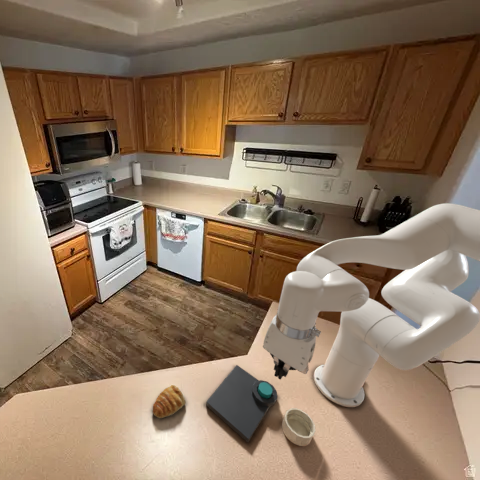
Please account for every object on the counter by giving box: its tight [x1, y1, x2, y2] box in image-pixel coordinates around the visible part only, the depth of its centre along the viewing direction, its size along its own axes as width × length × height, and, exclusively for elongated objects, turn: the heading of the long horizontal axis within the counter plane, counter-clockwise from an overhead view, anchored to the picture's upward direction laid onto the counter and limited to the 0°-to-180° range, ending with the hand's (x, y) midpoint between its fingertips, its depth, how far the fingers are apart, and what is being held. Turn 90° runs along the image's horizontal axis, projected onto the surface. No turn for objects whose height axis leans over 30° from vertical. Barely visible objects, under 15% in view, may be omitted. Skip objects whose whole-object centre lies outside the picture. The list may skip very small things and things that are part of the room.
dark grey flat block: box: [205, 364, 278, 444], centre depth 73 cm, size 16×14×4 cm
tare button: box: [258, 382, 272, 398], centre depth 72 cm, size 4×4×2 cm
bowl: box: [281, 407, 316, 447], centre depth 66 cm, size 7×7×4 cm
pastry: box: [152, 384, 187, 419], centre depth 73 cm, size 9×7×4 cm
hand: (279, 374), depth 66 cm, fingers closed
